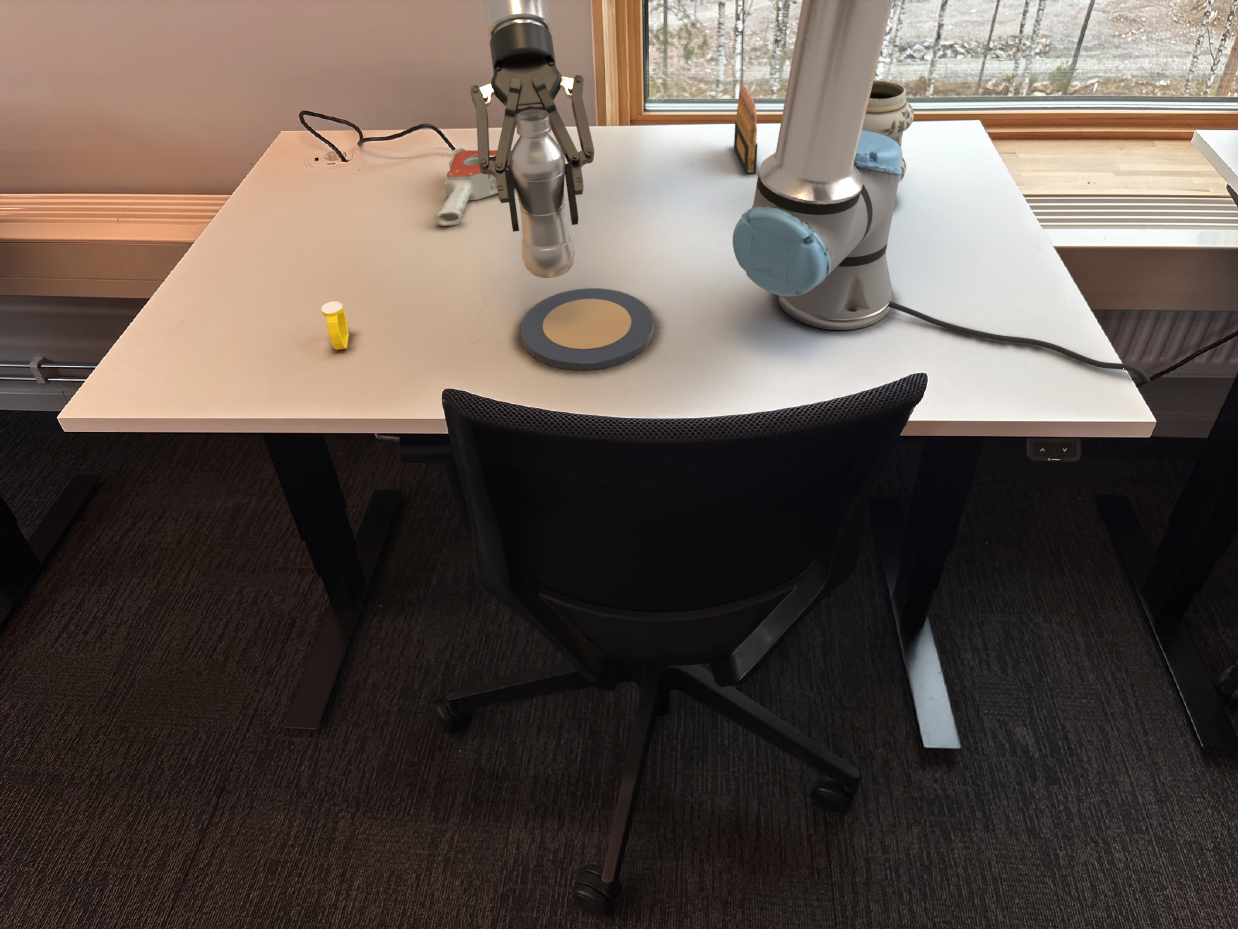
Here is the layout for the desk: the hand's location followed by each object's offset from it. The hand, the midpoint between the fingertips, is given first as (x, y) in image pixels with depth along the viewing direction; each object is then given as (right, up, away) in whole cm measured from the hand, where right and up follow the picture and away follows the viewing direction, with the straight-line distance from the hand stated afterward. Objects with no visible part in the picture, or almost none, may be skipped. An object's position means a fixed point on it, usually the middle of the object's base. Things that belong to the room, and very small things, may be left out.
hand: (545, 224), depth 106 cm
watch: (-29, -12, +16) cm, 35 cm away
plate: (+5, -10, +15) cm, 19 cm away
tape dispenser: (-16, +17, +47) cm, 53 cm away
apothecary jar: (+48, +14, +40) cm, 64 cm away
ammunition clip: (+31, +25, +53) cm, 66 cm away
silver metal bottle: (0, -4, +8) cm, 9 cm away
